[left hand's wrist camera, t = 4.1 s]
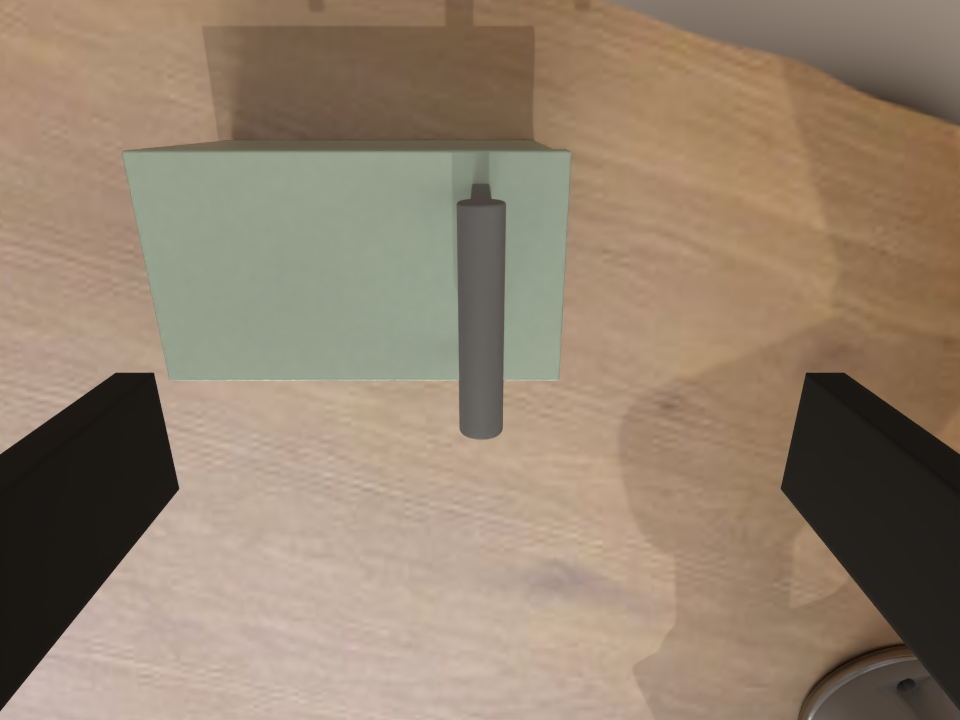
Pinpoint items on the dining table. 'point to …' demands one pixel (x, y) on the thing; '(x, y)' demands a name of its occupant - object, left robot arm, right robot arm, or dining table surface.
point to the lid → (358, 265)
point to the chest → (363, 144)
